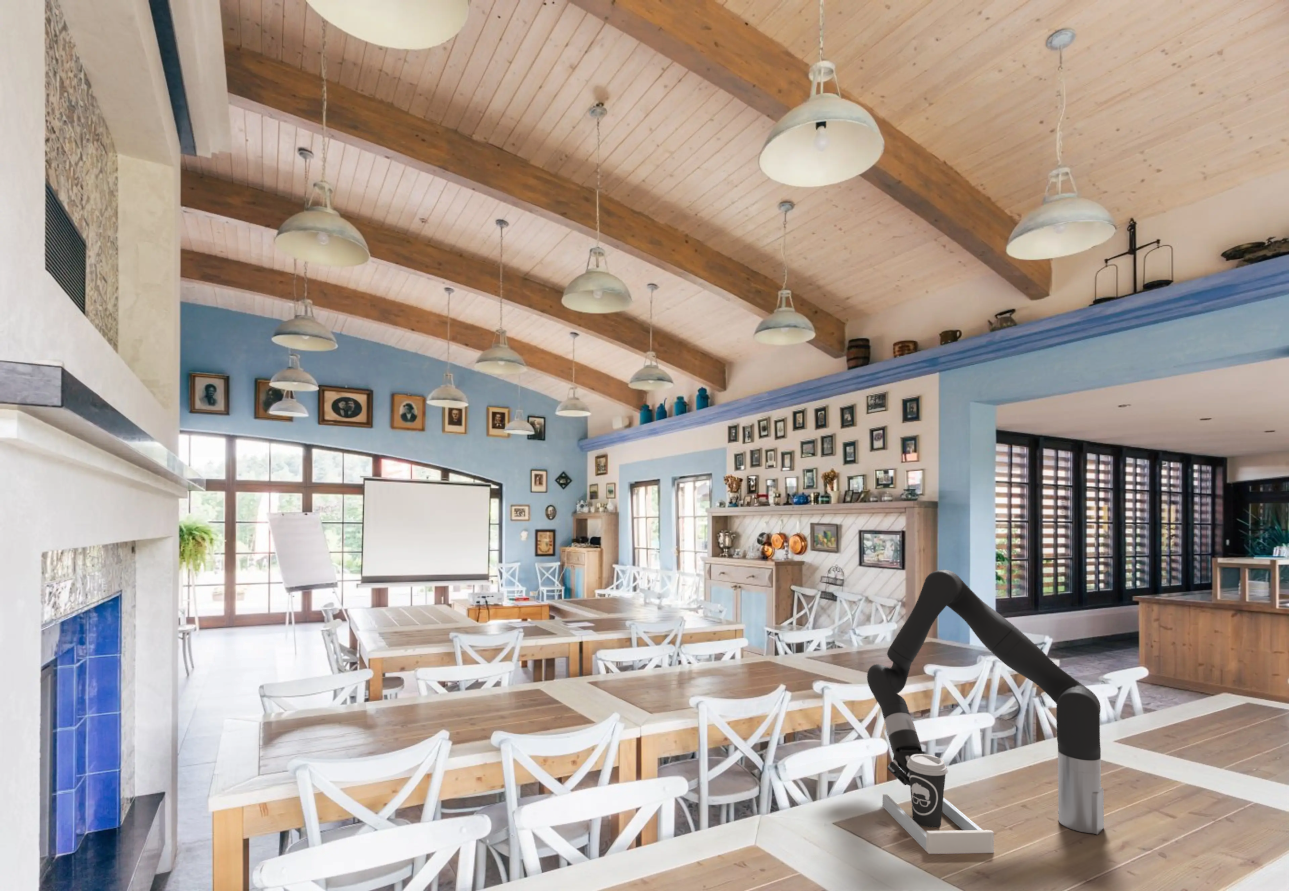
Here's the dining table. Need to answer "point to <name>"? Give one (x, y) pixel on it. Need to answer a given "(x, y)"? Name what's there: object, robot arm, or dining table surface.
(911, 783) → the coffee cup
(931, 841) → the white rectangular tray frame
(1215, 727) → the dining table surface
